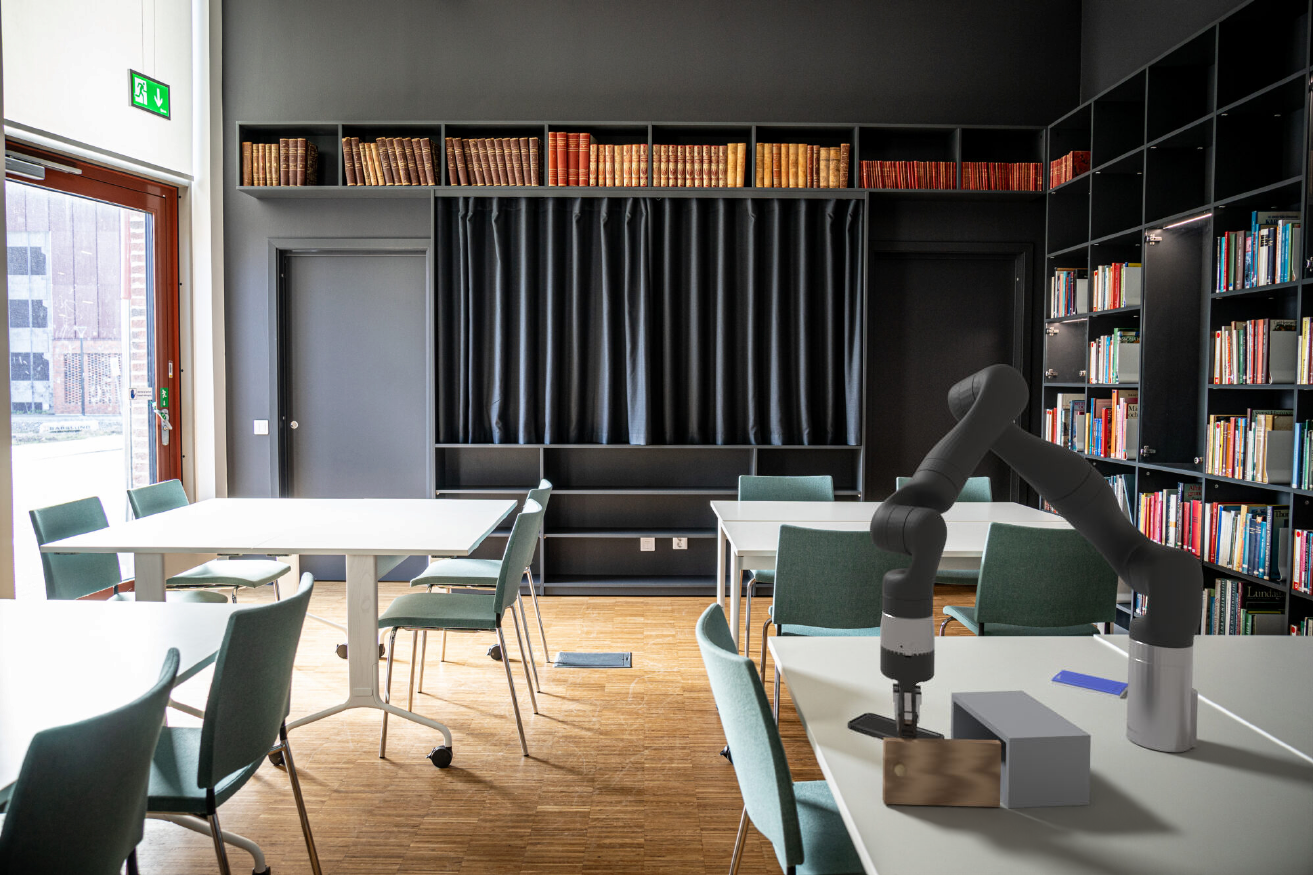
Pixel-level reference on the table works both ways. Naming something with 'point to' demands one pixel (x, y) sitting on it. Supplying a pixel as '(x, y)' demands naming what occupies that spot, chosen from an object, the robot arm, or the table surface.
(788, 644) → the table surface
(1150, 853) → the table surface
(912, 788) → the door
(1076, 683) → the hard drive
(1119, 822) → the table surface
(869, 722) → the phone
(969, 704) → the storage box
